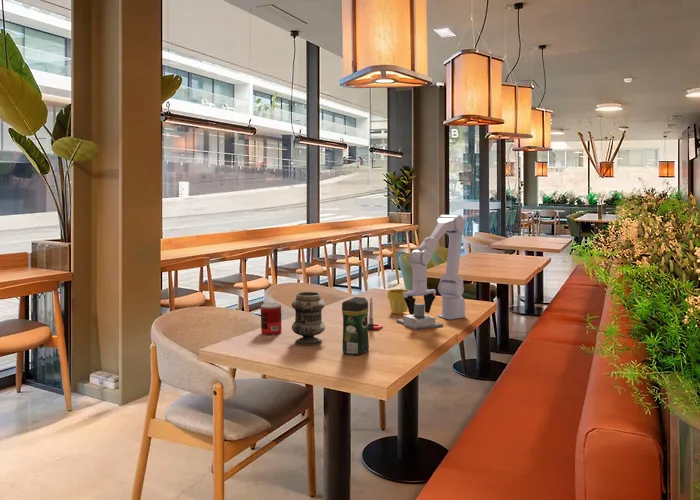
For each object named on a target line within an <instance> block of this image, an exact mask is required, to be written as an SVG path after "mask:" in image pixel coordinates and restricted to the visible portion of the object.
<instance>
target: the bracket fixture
mask: <svg viewBox="0 0 700 500" xmlns="http://www.w3.org/2000/svg"><path fill="white" fill-rule="evenodd" d="M395 322H396V323H399V324H401V325H404V326H405V327H407V328H410V329H413V330H415V331H420V330H421V331H422V330H428V329H437V328H440V327H441V328H442V327H444V324H443V323H441V322H437V321H436V316H431V315H430V314H426V313H424V317H423V318H416V317H414V315H411V314H409V311H407V312H403V314H402V318H398V319H396V320H395Z"/></svg>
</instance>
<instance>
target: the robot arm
mask: <svg viewBox="0 0 700 500" xmlns="http://www.w3.org/2000/svg"><path fill="white" fill-rule="evenodd" d="M465 223H466V221H465V219H464V217H463V216H462V215H460V214H441V215H439V217H438V219H437V220H436V226H435V228H434V229H433V231H432V232H431V235H430V236H427V237H425V238H424V239H423V241H422V242H421V244H420V245H418V248H417V249H414V250H413V251H411V253H410V255H409V262H410V265H411V266H410V267H411V269H412V290H409V291H407V292H403V297H404V300H405V302H406V304H407V306H408V307H407V311H408V312H409V314H411V315H414V304H416V300H417V299H416V298H414V297H419V296H420V297H421V296H423V300H424V304H425V307H424V313H425V314H426V313H427V314H430V311H431V308H432V305H433V302H434V300H435V299H436V293H437V291H438V293H439V294H440V297H441V299H442V301H441V305H442V306H441V314H437V317H440V318H443V319H445V320H456V319H464V318H466V317H467V316H466V300H465V298H464V297H463V294H464V292H465V291H464V290H465V287H464V279H463V278H462V277H461V276H460V275H459V269H460V260H461V259H460V258H461V250H462V242H463V235H464V233H465V225H466V224H465ZM445 234H446V235H447V236H448V240H449V241H448V246H447V247H448V249H447V259H446V268H445V273H444V274H443V275H442V276H441V277H440V279H439V283H438V287H437V289H438V290H437V291H436V289H434V288H431V289H430V288H429V289H428V285H427V284H428V264H429V263H430V262H431V257H432V254H433V252H434V251H435V250H436V248H437V247H438V241H439V240H440V239H441V238H442V237H443V235H445Z"/></svg>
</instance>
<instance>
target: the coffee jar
mask: <svg viewBox="0 0 700 500" xmlns="http://www.w3.org/2000/svg"><path fill="white" fill-rule="evenodd" d="M341 312H342V313H341V314H342V352H343V353H344V354H346V355H349V356H354V355H357V356H358V355H362V354H365V353H366V352H368V351H369V349H370V342H369V330H368V323H369V316H368V315H369V302H368V300H367V299H366V298H365V297H361V296H353V297H352V298H350V299H347V300H344V301H342V303H341Z"/></svg>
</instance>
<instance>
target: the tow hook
mask: <svg viewBox="0 0 700 500" xmlns="http://www.w3.org/2000/svg"><path fill="white" fill-rule="evenodd" d="M373 304H374V303H373V297H370V298H369V316H368V331H380V329H383V324H380V323H379V324H378V323H374V316H373V313H374V312H373Z"/></svg>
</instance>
